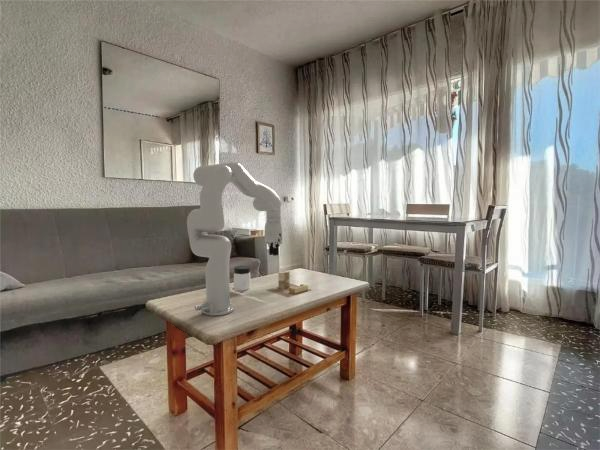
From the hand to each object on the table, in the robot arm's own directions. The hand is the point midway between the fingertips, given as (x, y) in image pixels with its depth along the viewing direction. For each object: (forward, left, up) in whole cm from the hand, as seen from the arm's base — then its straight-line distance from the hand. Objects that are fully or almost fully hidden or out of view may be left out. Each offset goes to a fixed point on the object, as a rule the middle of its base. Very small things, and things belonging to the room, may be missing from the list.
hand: (273, 254), depth 164 cm
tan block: (0, -8, -16) cm, 18 cm away
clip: (0, -18, -16) cm, 24 cm away
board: (-1, -13, -17) cm, 22 cm away
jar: (-16, +6, -17) cm, 24 cm away
